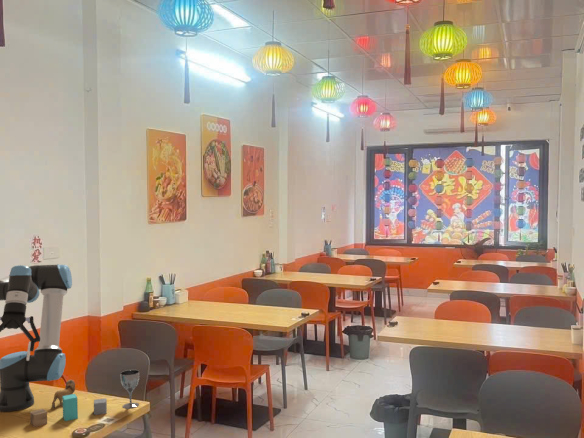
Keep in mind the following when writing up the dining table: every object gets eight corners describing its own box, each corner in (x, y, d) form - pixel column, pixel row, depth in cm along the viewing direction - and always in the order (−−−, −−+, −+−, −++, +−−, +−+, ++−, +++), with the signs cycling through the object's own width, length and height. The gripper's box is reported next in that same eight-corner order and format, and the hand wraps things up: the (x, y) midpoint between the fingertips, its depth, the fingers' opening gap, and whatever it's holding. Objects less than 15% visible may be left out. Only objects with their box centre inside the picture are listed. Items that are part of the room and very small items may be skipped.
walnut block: (30, 423, 222) (30, 411, 222) (43, 420, 225) (42, 408, 225) (34, 427, 218) (34, 415, 218) (47, 423, 222) (46, 411, 221)
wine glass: (128, 401, 245) (127, 368, 244) (143, 403, 242) (142, 370, 242) (117, 408, 237) (116, 374, 237) (133, 409, 235) (132, 375, 234)
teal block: (63, 417, 228) (62, 396, 228) (75, 414, 231) (74, 393, 231) (65, 421, 224) (64, 399, 224) (77, 418, 227) (77, 397, 226)
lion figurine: (68, 397, 252) (67, 378, 251) (78, 397, 251) (78, 378, 250) (48, 409, 237) (47, 389, 237) (59, 410, 236) (58, 389, 236)
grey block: (94, 411, 235) (94, 399, 234) (106, 409, 236) (106, 398, 236) (93, 415, 230) (93, 403, 230) (106, 413, 231) (106, 402, 231)
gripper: (-23, 300, 201) (-34, 357, 191) (51, 302, 209) (44, 357, 199) (-20, 306, 207) (-31, 362, 197) (51, 308, 215) (44, 362, 206)
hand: (7, 359), depth 198 cm, fingers open, 13 cm apart
